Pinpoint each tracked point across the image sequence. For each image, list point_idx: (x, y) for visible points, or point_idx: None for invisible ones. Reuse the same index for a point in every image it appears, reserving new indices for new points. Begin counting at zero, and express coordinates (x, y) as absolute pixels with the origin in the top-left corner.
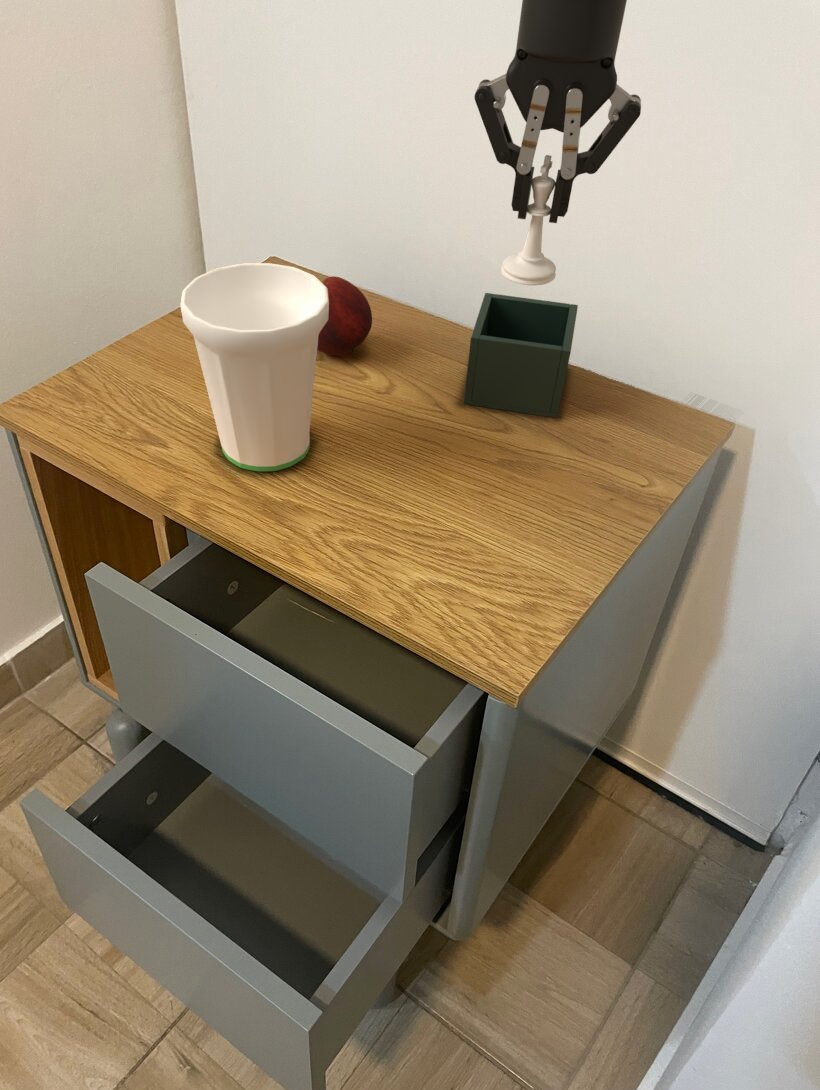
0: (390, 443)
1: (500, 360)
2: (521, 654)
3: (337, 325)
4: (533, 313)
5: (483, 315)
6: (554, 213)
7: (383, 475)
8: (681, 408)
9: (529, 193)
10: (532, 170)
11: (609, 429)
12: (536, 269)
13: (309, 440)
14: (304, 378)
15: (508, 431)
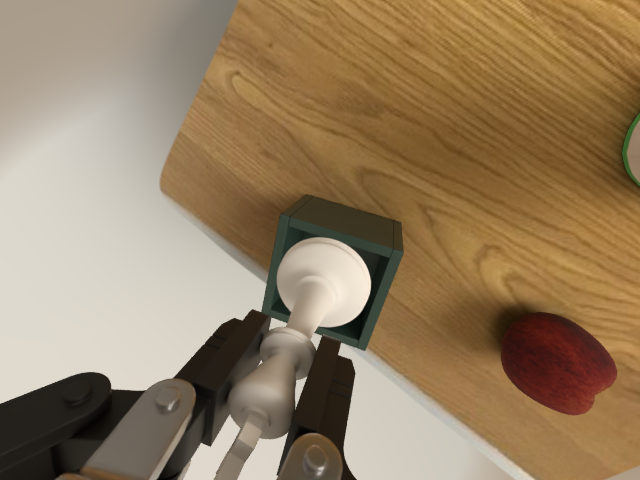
0: (506, 146)
1: (364, 230)
2: None
3: (566, 333)
4: None
5: (376, 302)
6: (252, 322)
7: (532, 75)
8: (192, 208)
9: (306, 380)
10: (285, 456)
11: (258, 174)
12: (311, 261)
13: (633, 134)
14: None
15: (360, 171)
